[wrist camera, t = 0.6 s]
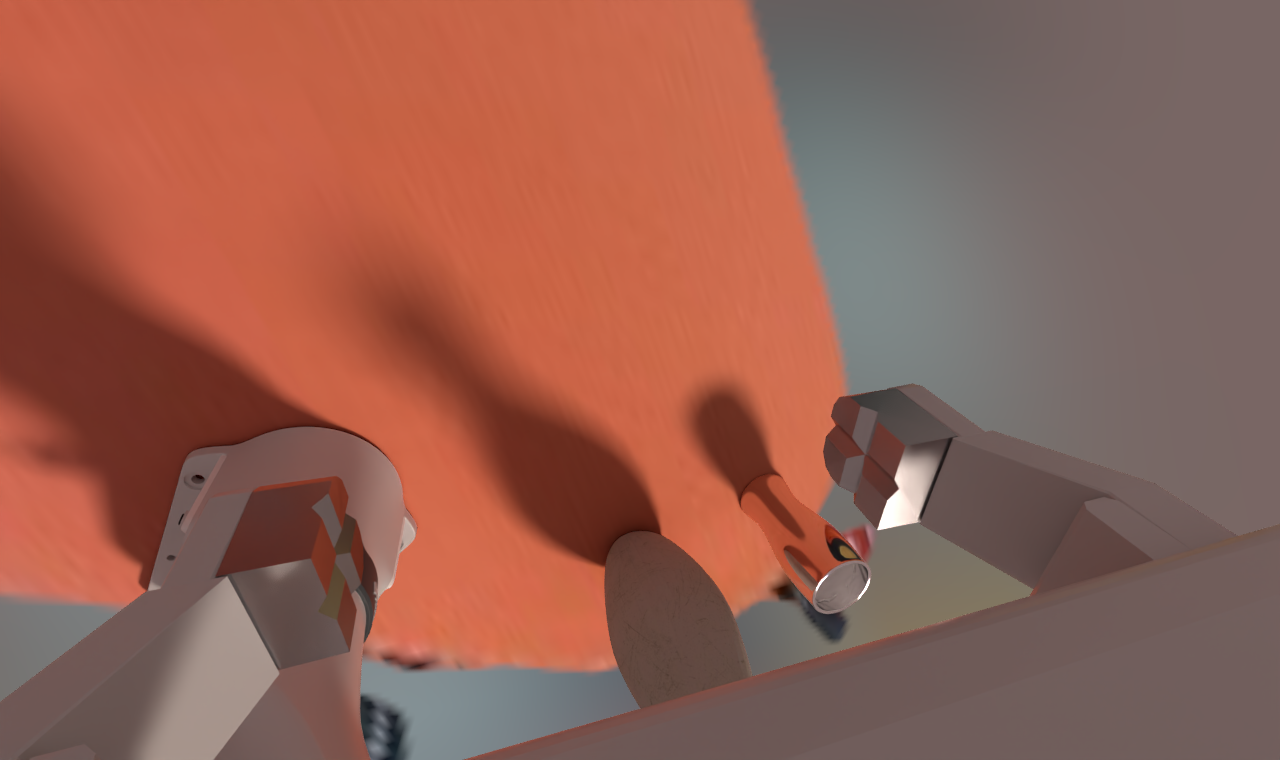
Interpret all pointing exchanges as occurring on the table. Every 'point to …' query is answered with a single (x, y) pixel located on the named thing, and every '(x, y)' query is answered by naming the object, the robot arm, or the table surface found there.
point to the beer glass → (806, 546)
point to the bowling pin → (668, 621)
